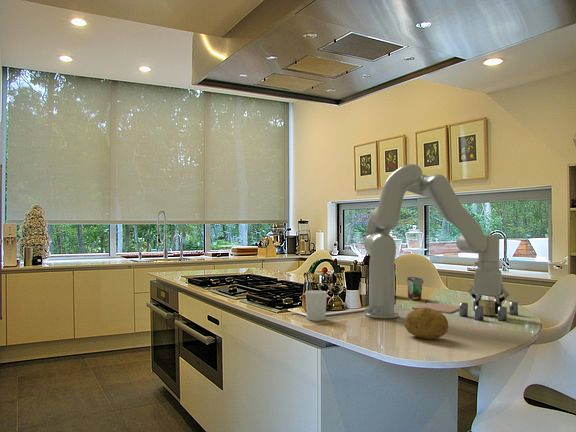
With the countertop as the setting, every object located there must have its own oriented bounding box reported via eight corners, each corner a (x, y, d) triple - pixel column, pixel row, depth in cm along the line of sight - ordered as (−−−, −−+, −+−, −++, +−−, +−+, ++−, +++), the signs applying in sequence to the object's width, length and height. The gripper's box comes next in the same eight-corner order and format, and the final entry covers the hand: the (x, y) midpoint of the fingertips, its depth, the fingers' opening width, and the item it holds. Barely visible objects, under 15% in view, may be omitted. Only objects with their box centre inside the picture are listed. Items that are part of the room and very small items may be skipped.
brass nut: (493, 316, 180) (493, 302, 180) (477, 313, 184) (477, 300, 184) (498, 313, 185) (498, 300, 185) (482, 311, 189) (483, 299, 189)
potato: (415, 303, 154) (400, 304, 147) (455, 311, 144) (441, 311, 138) (412, 333, 153) (397, 334, 146) (452, 342, 144) (438, 344, 137)
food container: (426, 301, 219) (426, 279, 219) (413, 301, 219) (413, 279, 219) (419, 297, 231) (420, 276, 232) (407, 297, 231) (407, 276, 232)
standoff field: (502, 323, 169) (502, 309, 169) (454, 317, 179) (454, 304, 179) (521, 313, 189) (521, 300, 190) (477, 308, 200) (477, 296, 200)
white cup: (329, 318, 176) (329, 291, 176) (322, 322, 169) (322, 293, 169) (310, 316, 179) (310, 289, 179) (301, 320, 172) (302, 292, 172)
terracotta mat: (450, 313, 188) (450, 312, 188) (412, 308, 198) (412, 307, 198) (464, 308, 200) (464, 307, 200) (427, 304, 210) (427, 302, 210)
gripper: (462, 265, 187) (462, 310, 187) (509, 268, 176) (509, 316, 176) (469, 264, 193) (468, 308, 193) (514, 267, 182) (514, 314, 182)
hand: (488, 312), depth 184 cm, fingers closed on brass nut, 6 cm apart
